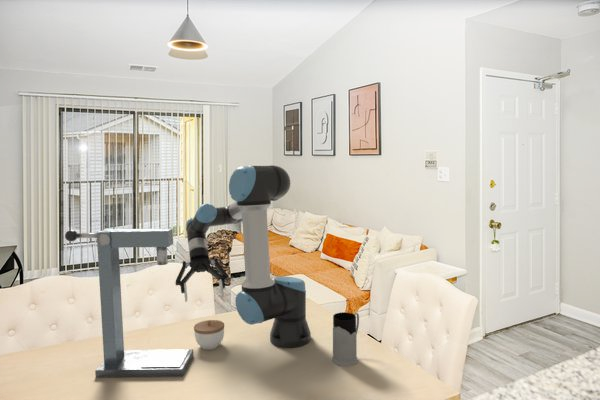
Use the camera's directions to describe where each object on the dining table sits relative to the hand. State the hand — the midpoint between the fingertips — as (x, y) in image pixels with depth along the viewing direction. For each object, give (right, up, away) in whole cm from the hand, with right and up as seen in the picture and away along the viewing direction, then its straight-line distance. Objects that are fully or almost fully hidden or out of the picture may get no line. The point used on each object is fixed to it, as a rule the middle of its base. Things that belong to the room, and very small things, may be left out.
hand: (204, 298), depth 165 cm
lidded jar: (+4, -16, -9) cm, 18 cm away
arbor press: (-19, -17, -23) cm, 35 cm away
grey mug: (+53, -16, -19) cm, 58 cm away
